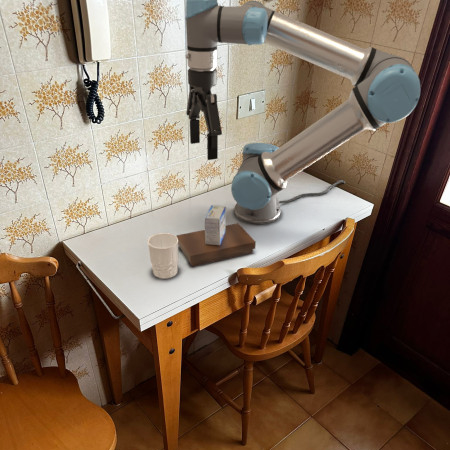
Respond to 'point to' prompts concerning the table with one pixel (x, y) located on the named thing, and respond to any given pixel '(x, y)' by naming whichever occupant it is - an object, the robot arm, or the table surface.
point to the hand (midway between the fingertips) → (203, 150)
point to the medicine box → (215, 225)
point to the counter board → (230, 246)
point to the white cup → (164, 254)
